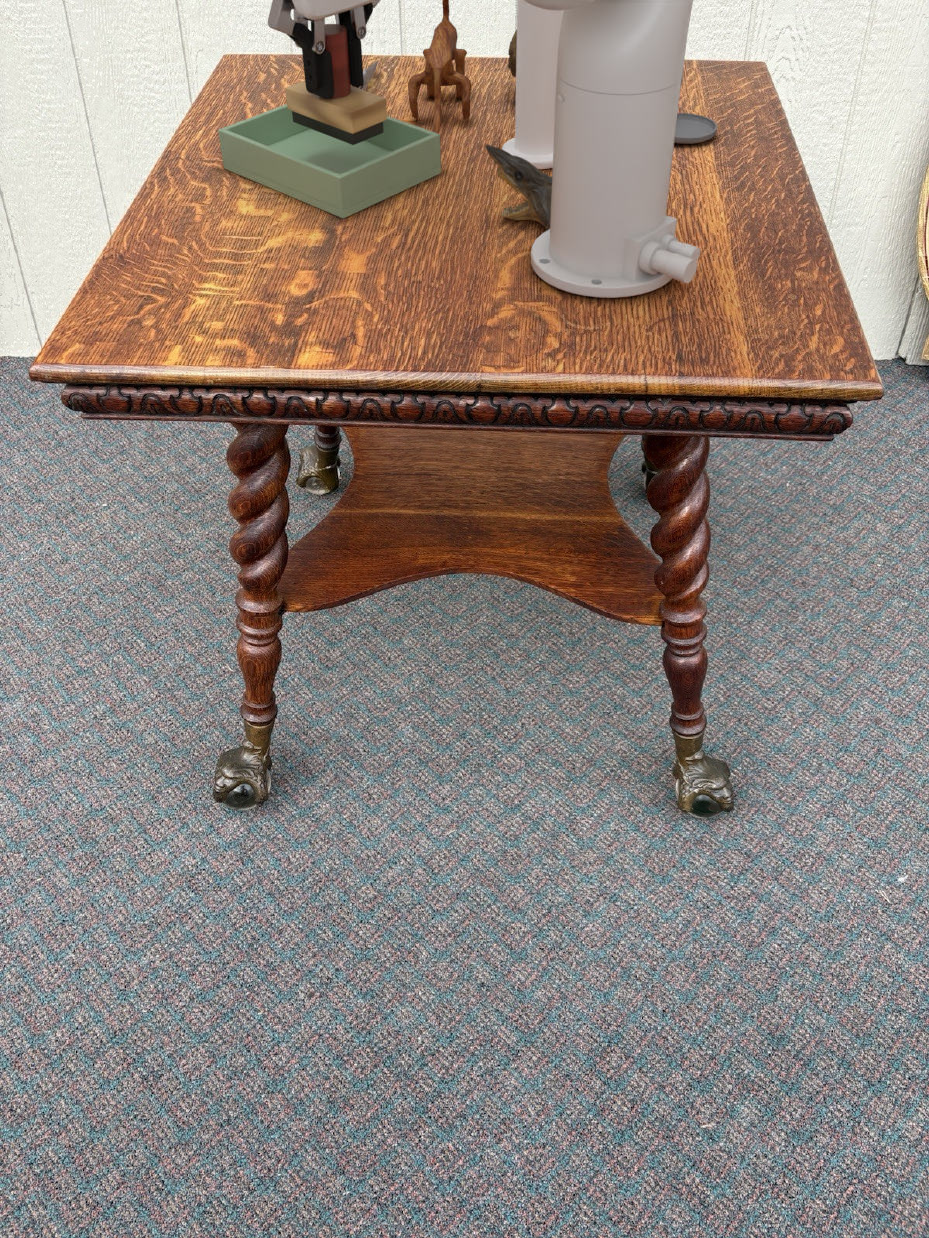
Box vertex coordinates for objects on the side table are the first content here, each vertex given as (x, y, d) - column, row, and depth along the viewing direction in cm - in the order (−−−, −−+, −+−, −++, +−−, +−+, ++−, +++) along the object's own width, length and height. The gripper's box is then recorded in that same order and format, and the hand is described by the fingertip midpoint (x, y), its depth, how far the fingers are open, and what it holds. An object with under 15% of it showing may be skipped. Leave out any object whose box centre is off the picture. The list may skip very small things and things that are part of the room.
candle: (561, 174, 111) (575, -127, 94) (492, 165, 113) (494, -132, 95) (580, 146, 116) (597, -145, 98) (513, 138, 117) (518, -150, 100)
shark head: (480, 235, 102) (480, 159, 97) (489, 204, 106) (490, 130, 102) (569, 240, 101) (573, 164, 96) (575, 209, 105) (579, 134, 101)
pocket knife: (351, 115, 123) (349, 95, 121) (343, 114, 123) (341, 95, 121) (382, 71, 132) (381, 52, 131) (374, 70, 132) (373, 52, 131)
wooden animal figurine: (466, 152, 115) (465, 4, 105) (401, 151, 115) (394, 3, 106) (478, 88, 128) (477, -50, 118) (419, 87, 128) (414, -50, 119)
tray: (441, 173, 111) (440, 134, 109) (343, 219, 105) (339, 178, 102) (321, 129, 120) (318, 91, 117) (223, 168, 113) (217, 129, 110)
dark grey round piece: (714, 150, 115) (729, 43, 108) (630, 144, 116) (639, 39, 109) (717, 119, 120) (732, 16, 113) (638, 114, 122) (647, 12, 115)
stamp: (388, 133, 107) (383, 34, 101) (353, 147, 105) (346, 47, 99) (323, 108, 112) (314, 12, 105) (288, 122, 109) (277, 24, 103)
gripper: (270, -120, 87) (296, 125, 100) (418, -155, 95) (425, 75, 108) (207, -135, 90) (240, 104, 103) (356, -167, 99) (369, 56, 112)
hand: (335, 87), depth 106 cm, fingers closed on stamp, 3 cm apart
